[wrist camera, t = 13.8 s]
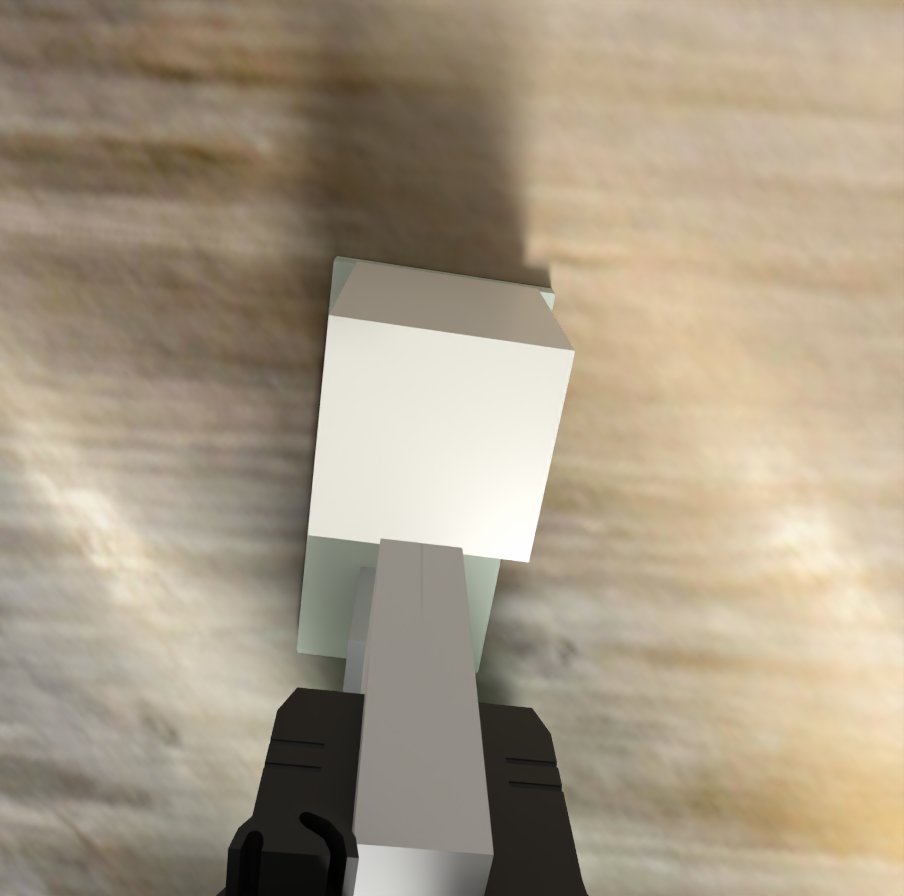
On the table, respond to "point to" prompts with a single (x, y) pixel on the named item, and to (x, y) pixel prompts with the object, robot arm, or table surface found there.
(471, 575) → the rack
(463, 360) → the white square column
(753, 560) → the table surface
